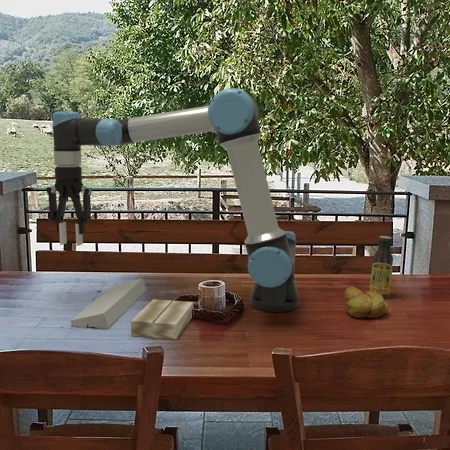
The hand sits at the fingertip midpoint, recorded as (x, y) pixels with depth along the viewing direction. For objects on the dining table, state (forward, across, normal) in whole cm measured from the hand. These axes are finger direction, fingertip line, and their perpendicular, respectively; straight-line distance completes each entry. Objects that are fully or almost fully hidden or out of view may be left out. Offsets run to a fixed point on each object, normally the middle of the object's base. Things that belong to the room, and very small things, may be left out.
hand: (71, 244), depth 153 cm
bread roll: (+19, -87, -9) cm, 90 cm away
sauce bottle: (+19, -93, -28) cm, 99 cm away
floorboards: (+19, -32, +11) cm, 39 cm away
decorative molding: (+19, -12, 0) cm, 23 cm away
